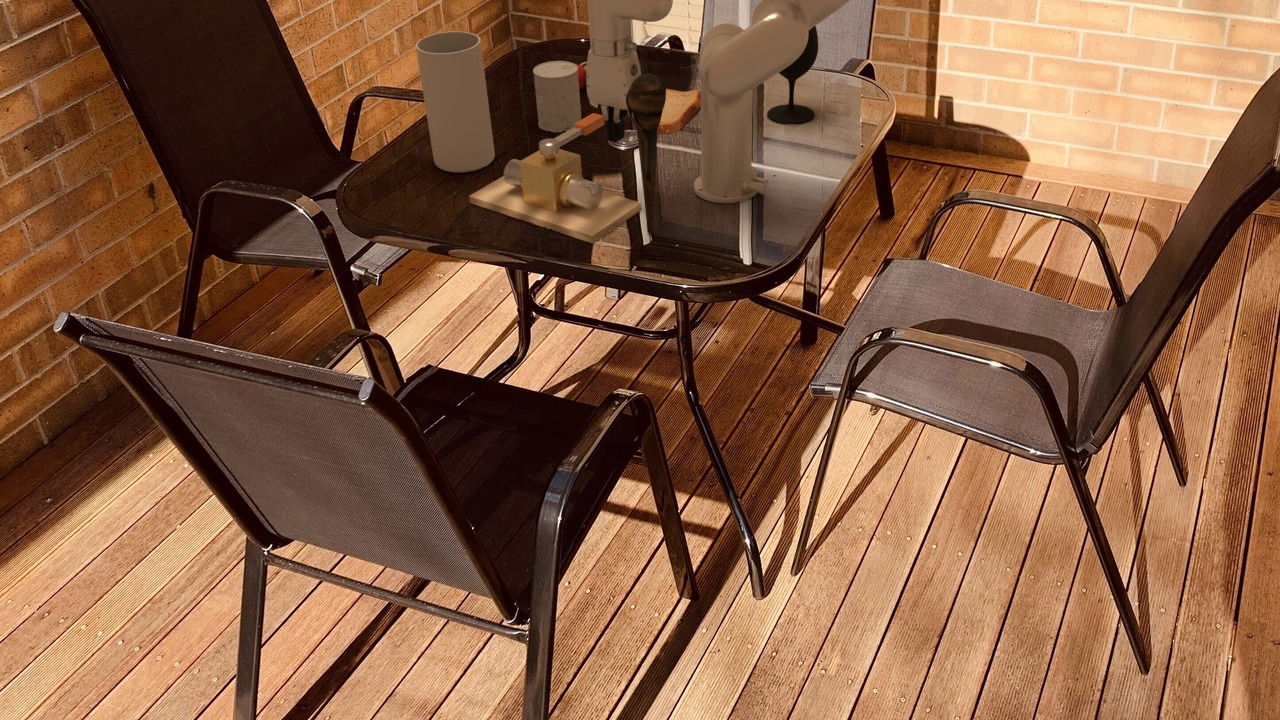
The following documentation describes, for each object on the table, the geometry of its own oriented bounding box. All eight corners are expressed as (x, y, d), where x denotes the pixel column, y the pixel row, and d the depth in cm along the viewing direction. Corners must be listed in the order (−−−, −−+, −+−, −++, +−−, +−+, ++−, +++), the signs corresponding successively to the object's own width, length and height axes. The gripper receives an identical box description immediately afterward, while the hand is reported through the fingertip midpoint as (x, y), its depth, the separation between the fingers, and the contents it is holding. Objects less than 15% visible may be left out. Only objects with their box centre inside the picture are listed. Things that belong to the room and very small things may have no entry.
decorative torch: (631, 226, 208) (623, 69, 191) (668, 223, 209) (663, 65, 192) (634, 244, 203) (626, 84, 186) (672, 241, 203) (668, 80, 186)
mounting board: (641, 209, 214) (641, 202, 213) (592, 243, 204) (592, 236, 203) (520, 173, 229) (520, 166, 228) (469, 202, 219) (468, 196, 218)
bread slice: (661, 138, 240) (660, 122, 238) (619, 111, 253) (619, 95, 251) (732, 118, 247) (732, 102, 245) (688, 93, 260) (687, 77, 258)
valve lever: (550, 157, 208) (549, 148, 207) (535, 153, 209) (534, 144, 208) (606, 125, 219) (605, 116, 217) (591, 121, 220) (591, 112, 219)
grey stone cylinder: (576, 133, 244) (571, 78, 237) (533, 131, 245) (527, 76, 238) (586, 115, 251) (582, 61, 244) (544, 113, 253) (539, 60, 246)
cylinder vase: (461, 179, 227) (444, 58, 213) (422, 163, 234) (402, 45, 220) (507, 158, 235) (493, 39, 220) (468, 142, 242) (451, 27, 227)
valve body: (608, 203, 213) (605, 157, 207) (582, 221, 208) (578, 173, 202) (527, 179, 223) (522, 134, 217) (500, 195, 218) (494, 149, 212)
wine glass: (824, 116, 245) (829, 25, 234) (788, 129, 241) (791, 36, 229) (793, 102, 252) (796, 12, 241) (756, 114, 248) (758, 23, 236)
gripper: (657, 44, 203) (660, 140, 213) (590, 31, 210) (595, 124, 221) (633, 58, 198) (637, 155, 209) (565, 43, 205) (572, 138, 216)
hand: (616, 139), depth 215 cm, fingers closed
